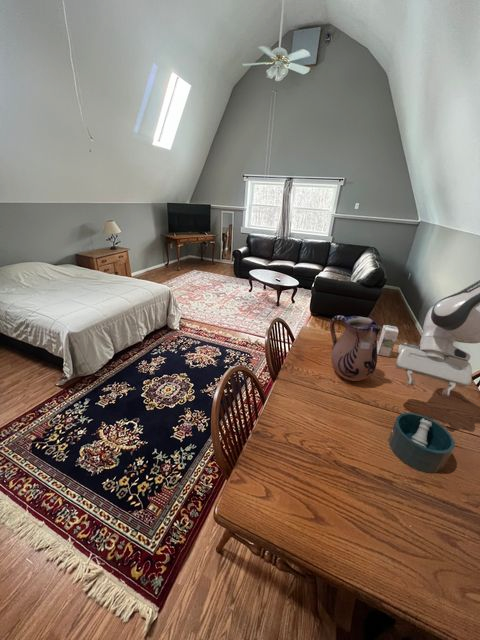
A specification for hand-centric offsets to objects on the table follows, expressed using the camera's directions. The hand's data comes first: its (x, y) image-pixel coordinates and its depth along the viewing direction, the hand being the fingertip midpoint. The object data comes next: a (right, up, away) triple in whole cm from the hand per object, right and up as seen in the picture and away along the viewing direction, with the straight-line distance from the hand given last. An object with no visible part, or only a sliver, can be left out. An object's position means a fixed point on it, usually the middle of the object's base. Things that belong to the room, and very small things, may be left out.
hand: (427, 390), depth 85 cm
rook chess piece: (-6, -16, -4) cm, 17 cm away
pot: (-6, -17, -4) cm, 19 cm away
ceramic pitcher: (-14, -1, +31) cm, 34 cm away
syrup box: (+11, +5, +48) cm, 49 cm away
